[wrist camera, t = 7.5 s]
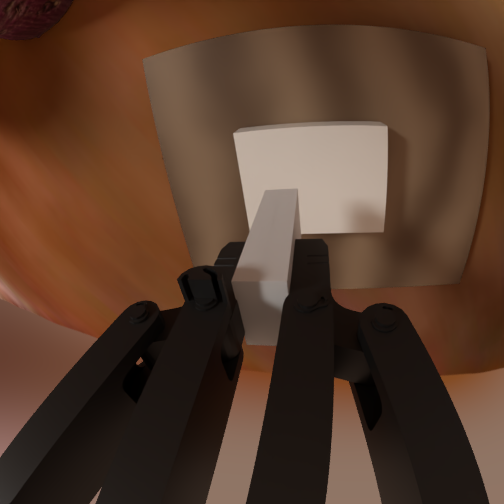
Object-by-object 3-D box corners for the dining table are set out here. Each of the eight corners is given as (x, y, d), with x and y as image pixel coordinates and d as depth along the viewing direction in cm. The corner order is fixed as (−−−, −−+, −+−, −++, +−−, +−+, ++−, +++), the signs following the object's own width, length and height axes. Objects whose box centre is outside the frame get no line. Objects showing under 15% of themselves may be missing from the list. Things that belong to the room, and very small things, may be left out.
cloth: (204, 280, 27) (200, 288, 26) (150, 59, 16) (142, 59, 15) (454, 275, 21) (459, 283, 20) (477, 48, 11) (485, 48, 10)
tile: (250, 235, 19) (383, 232, 17) (233, 133, 16) (387, 126, 14) (255, 222, 21) (377, 218, 19) (240, 127, 17) (379, 121, 15)
